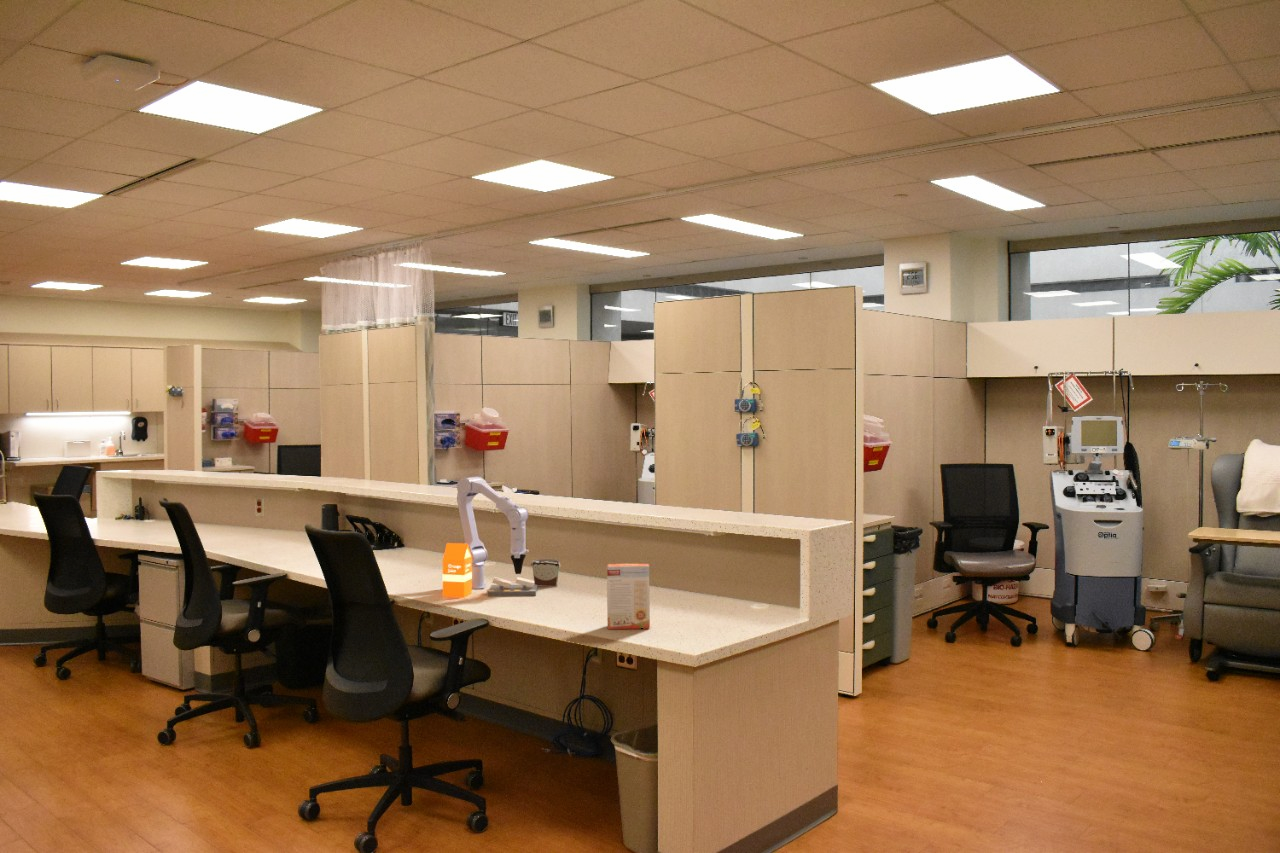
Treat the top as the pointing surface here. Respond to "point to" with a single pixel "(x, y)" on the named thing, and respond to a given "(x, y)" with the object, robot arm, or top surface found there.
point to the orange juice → (457, 570)
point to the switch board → (512, 590)
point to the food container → (545, 572)
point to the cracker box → (628, 596)
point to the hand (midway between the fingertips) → (518, 573)
